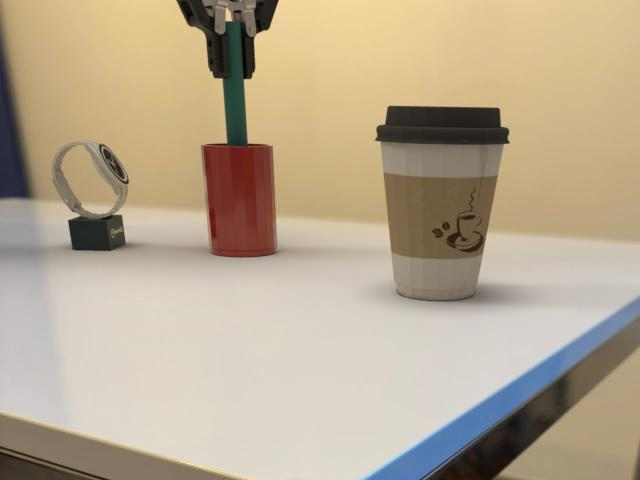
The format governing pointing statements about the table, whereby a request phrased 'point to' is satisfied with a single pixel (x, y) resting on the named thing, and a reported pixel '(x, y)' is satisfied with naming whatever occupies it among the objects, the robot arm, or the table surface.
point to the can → (240, 199)
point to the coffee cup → (439, 195)
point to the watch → (91, 227)
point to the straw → (235, 89)
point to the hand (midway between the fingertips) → (232, 77)
